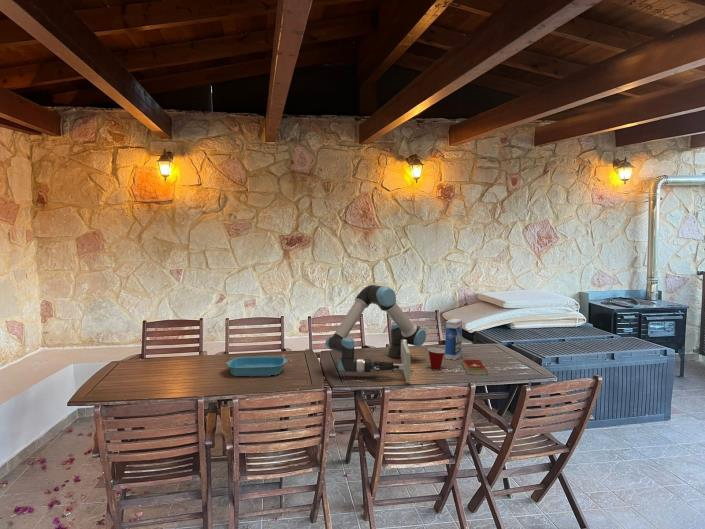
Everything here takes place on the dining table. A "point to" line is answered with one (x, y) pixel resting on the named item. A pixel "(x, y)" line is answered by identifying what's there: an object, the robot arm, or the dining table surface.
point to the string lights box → (453, 339)
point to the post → (402, 355)
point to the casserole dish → (256, 366)
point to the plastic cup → (436, 357)
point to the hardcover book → (474, 366)
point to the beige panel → (406, 362)
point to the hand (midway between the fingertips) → (404, 366)
